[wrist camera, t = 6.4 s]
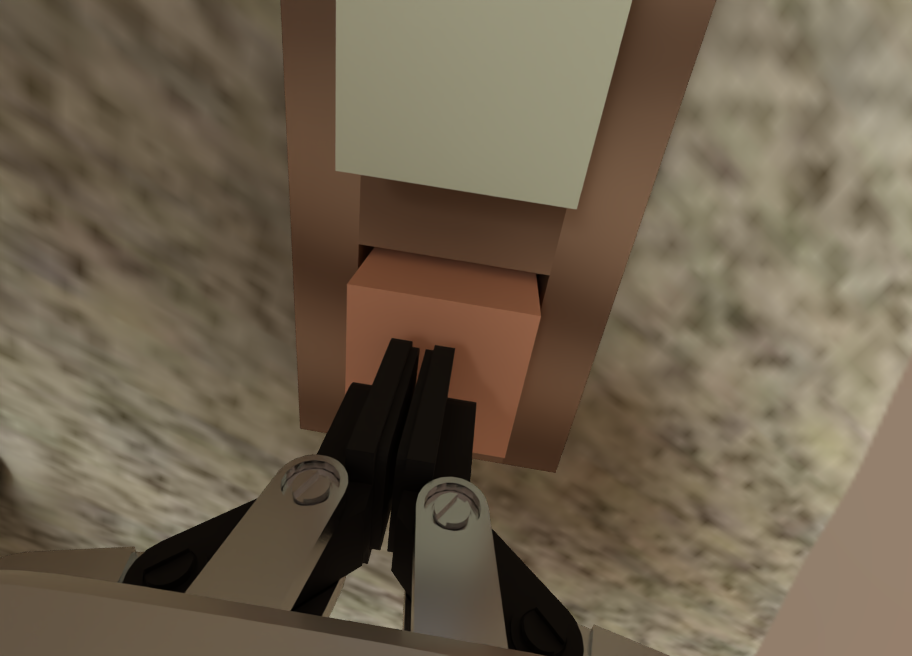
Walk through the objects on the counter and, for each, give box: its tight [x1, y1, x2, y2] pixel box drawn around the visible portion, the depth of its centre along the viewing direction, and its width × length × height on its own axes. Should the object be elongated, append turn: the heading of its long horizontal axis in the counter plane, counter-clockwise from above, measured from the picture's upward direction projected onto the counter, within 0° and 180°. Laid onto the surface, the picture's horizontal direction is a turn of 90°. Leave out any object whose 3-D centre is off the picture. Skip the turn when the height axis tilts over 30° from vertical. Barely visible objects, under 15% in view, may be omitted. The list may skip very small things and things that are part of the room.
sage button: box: [335, 0, 632, 209], centre depth 10 cm, size 5×5×4 cm
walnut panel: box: [281, 0, 716, 473], centre depth 12 cm, size 26×10×2 cm, turn 172°
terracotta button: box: [345, 247, 541, 458], centre depth 15 cm, size 5×5×4 cm
